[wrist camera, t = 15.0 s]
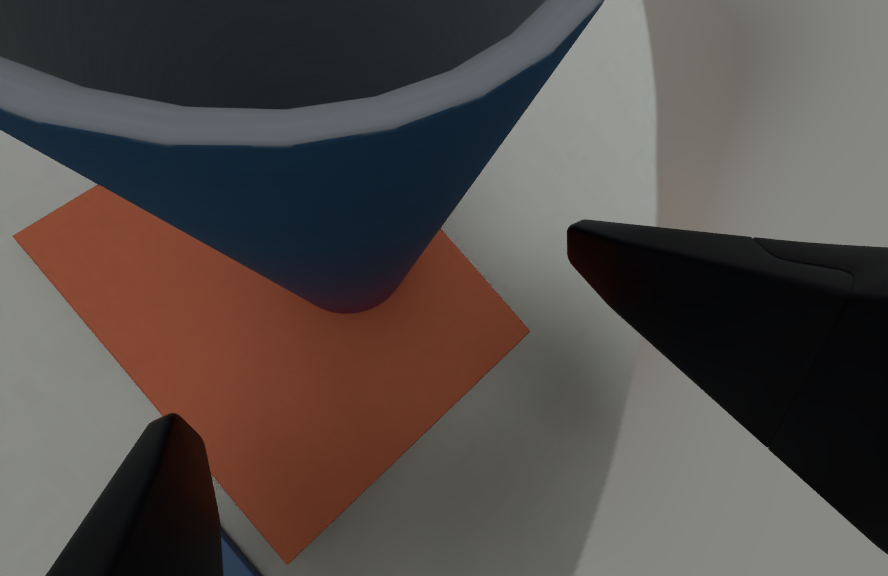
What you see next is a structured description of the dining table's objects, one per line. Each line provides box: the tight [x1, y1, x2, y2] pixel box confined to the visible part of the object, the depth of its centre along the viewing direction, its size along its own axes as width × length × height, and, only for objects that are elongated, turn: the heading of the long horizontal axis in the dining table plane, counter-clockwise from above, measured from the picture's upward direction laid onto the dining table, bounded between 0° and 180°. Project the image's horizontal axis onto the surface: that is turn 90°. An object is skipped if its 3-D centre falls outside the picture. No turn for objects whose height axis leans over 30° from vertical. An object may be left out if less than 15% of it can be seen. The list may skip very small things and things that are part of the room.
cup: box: [0, 0, 604, 314], centre depth 10 cm, size 7×7×15 cm
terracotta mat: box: [13, 184, 530, 564], centre depth 17 cm, size 16×13×1 cm
